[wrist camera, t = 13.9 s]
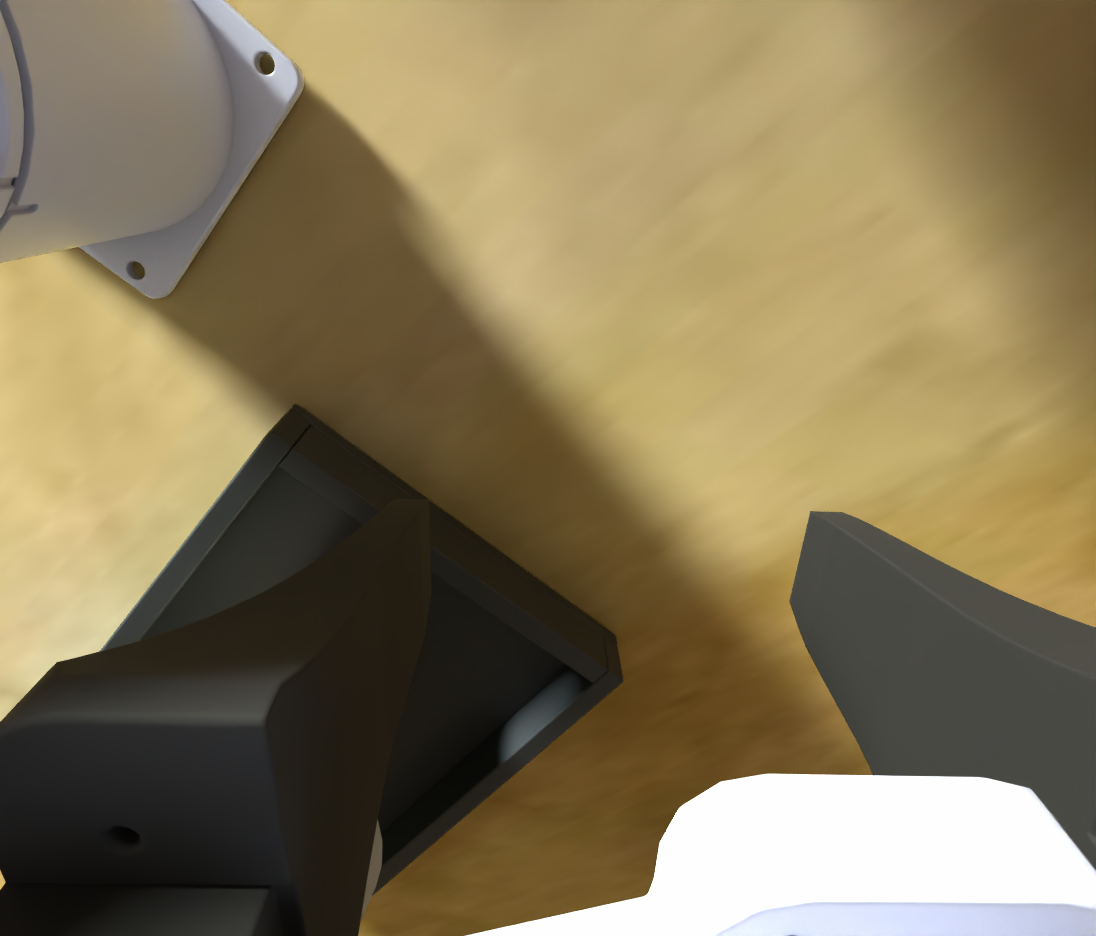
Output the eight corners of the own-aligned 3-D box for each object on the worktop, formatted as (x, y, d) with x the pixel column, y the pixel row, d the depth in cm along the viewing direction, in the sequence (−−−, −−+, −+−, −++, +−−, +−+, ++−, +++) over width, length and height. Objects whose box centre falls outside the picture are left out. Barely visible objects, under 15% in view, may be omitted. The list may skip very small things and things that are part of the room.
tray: (55, 713, 28) (11, 765, 25) (295, 402, 22) (268, 431, 20) (355, 865, 32) (341, 922, 30) (616, 635, 27) (624, 681, 24)
